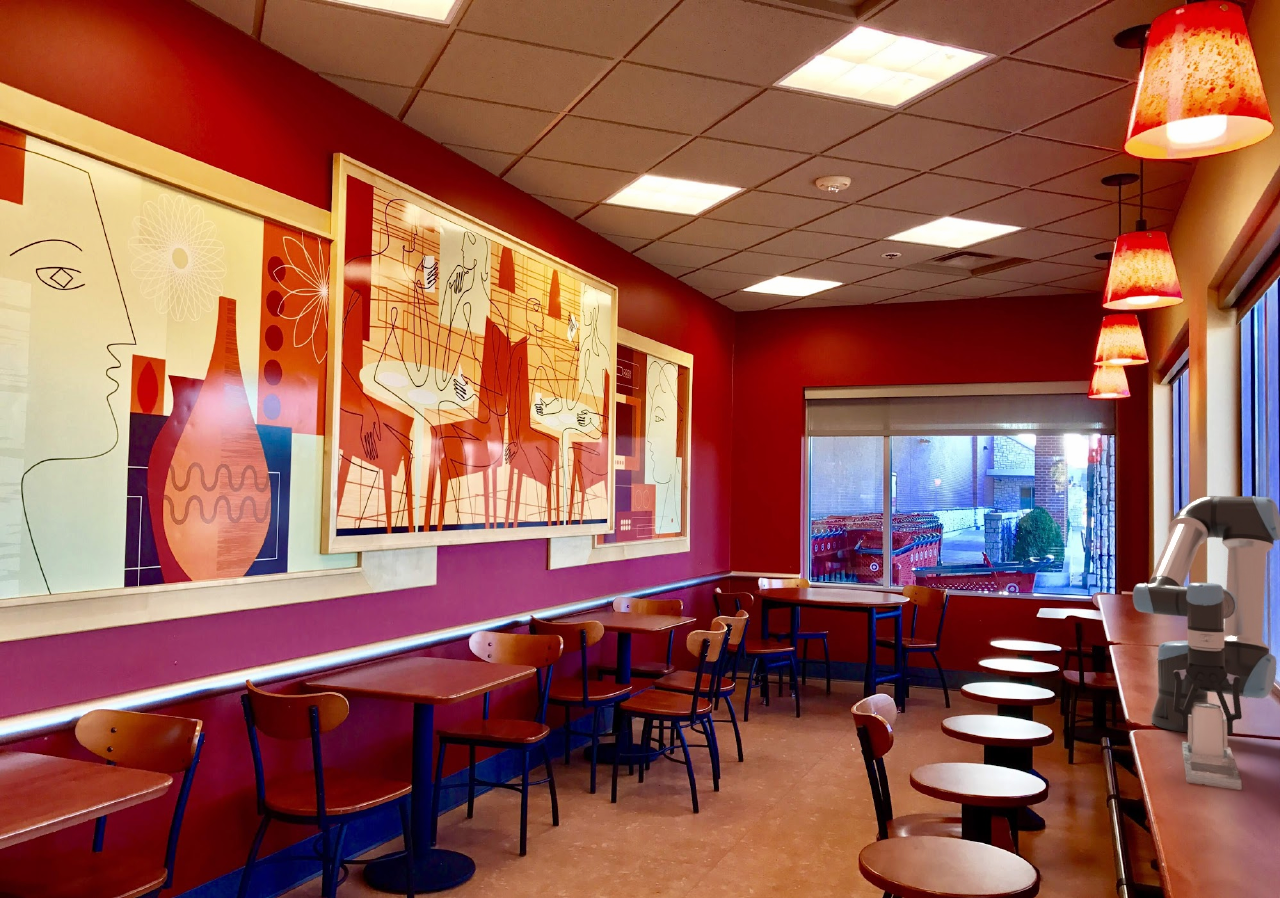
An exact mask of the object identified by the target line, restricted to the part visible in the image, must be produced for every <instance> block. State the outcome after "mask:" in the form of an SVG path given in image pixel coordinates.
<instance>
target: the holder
mask: <svg viewBox="0 0 1280 898" xmlns="http://www.w3.org/2000/svg"><path fill="white" fill-rule="evenodd" d="M1181 749H1182V750H1181V751H1182V758H1183V764H1184V771H1185V778H1186V783H1189V784H1196V785H1202V784H1205V785H1204V786H1210V787H1217V788H1224V789H1231V790H1238V791H1242V778H1241V776H1240V773H1239V769H1238V767H1237V763H1236V760H1235V758H1234V755H1233V753H1232V749H1231V747H1230V746H1228V749H1224V757H1217V756H1209V755H1201V754H1194V753H1192V745H1189V744H1188V741H1181ZM1207 772H1209V773H1207Z"/></svg>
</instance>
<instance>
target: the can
mask: <svg viewBox="0 0 1280 898" xmlns="http://www.w3.org/2000/svg"><path fill="white" fill-rule="evenodd" d="M1193 704H1194V705H1193V707H1192V709H1191V717H1192V753H1194V754H1201V755H1209V756H1217V757H1224V746H1223V719H1224V712H1223V710H1222V709H1221V708H1222V706H1221V705H1219V704H1217V703H1216V704H1215V703H1212V702H1208V703H1204V702H1195V703H1193Z"/></svg>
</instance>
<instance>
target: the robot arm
mask: <svg viewBox="0 0 1280 898" xmlns="http://www.w3.org/2000/svg"><path fill="white" fill-rule="evenodd" d="M1168 533H1169V536H1168V538H1167V540H1166V542H1165V544H1164V547H1163V550H1162V552H1161V555H1160V557H1159V559H1158V561H1157V563H1156V565H1155V568H1154V570H1153V572H1152V575H1151V577H1150V580H1149V581H1148V583H1147V582H1144V583H1137V584H1135V586H1134V588H1133V591H1132V602H1133V606H1134V608H1135V610H1136V611H1137V612H1140V613H1146V614H1152V615H1164V616H1175V617H1176V616H1177V617H1186V619H1187V620H1186V621H1187V629H1186V631H1187V640H1172V641H1166V642H1162V643H1160V644H1159V645H1158V648H1157V649H1158V650H1157V659H1156V660H1157V685H1158V687H1157V688H1158V689H1157V693H1158V694H1157V698H1156V701H1155V704H1154V706H1153V709H1152V713H1151V715H1150V717H1151V719H1150V720H1151V724H1152V723H1153V724H1152V725H1154V724H1155V725H1154V726H1156V727H1158V728H1162V729H1164V730H1165V729H1166V730H1170V731H1175V732H1181V733H1187V742H1188V744H1189V745H1192V717H1191V709H1192V707H1193V705H1194V704H1193V703H1195V702H1204V703H1209V699H1208V697H1209V696H1208V694H1209V693H1208V692H1210V693H1216V695H1217V698H1218V701H1219V703H1220V706H1221V708H1222V712H1223V714H1224V715H1225V718H1223V746H1224V749H1228V747H1229V745H1228V735H1230V736H1231V735H1233V733H1234V725H1233V724H1234V723H1233V722H1234V721H1237V720H1242V717H1243V716H1242V715H1243V714H1242V709H1241V708H1242V707H1241V699H1240V698H1241V697H1243V698H1245V699H1248V698H1252V699H1253V698H1254V699H1266V698H1267V697H1268V696H1269V695H1270V693H1271V692H1272V689H1274V684H1275V681H1276V676H1277V658H1276V656H1274V655H1273V654H1272V653H1270V647H1269V646H1268V645H1267V644H1266V643H1264V641H1263V637H1264V636H1263V635H1264V612H1265V593H1266V592H1265V588H1266V565H1267V553H1268V552H1269V551H1271V550H1272V549H1273V548H1274V543H1275V542H1274V541H1276V542H1277V541H1280V511H1279V508H1278V506H1277V503H1276V501H1275V500H1274V499H1272V498H1271V497H1265V496H1255V495H1251V496H1248V495H1247V496H1242V495H1241V496H1219V495H1218V496H1217V495H1209V496H1203V497H1200V498H1196V499H1195V500H1192V501H1190V502H1189V503H1187V504H1186V505H1185V506H1183V507H1182V508H1180V510H1178V511H1177V512H1176V514H1175V515H1174V516H1173V517H1172V519H1171V521H1170V522H1169V525H1168ZM1209 538H1216V539H1217V538H1219V539H1222V542H1221V543H1222V545H1223V546H1224V547H1225V548H1227V550H1228V553H1227V572H1226V573H1227V574H1226V586H1225V588H1224V587H1223V585H1221V584H1218V583H1213V582H1212V583H1210V582H1190V583H1189V584H1187V586H1184V585H1185V581H1186V580H1187V577H1188V575H1189V572H1190V570H1191V567H1192V565H1193V562H1194V560H1195V558H1196V556H1197V552H1198V550H1199V549H1200V545H1202V544H1204V543H1205V542H1206V541H1207V539H1209ZM1224 695H1229V696H1230V695H1231V696H1232V701H1233V702H1232V703H1233V710H1234V712H1233V713H1232V712H1231V711H1230V709H1229V706H1228V703H1227V701H1226V698H1225V696H1224Z"/></svg>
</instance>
